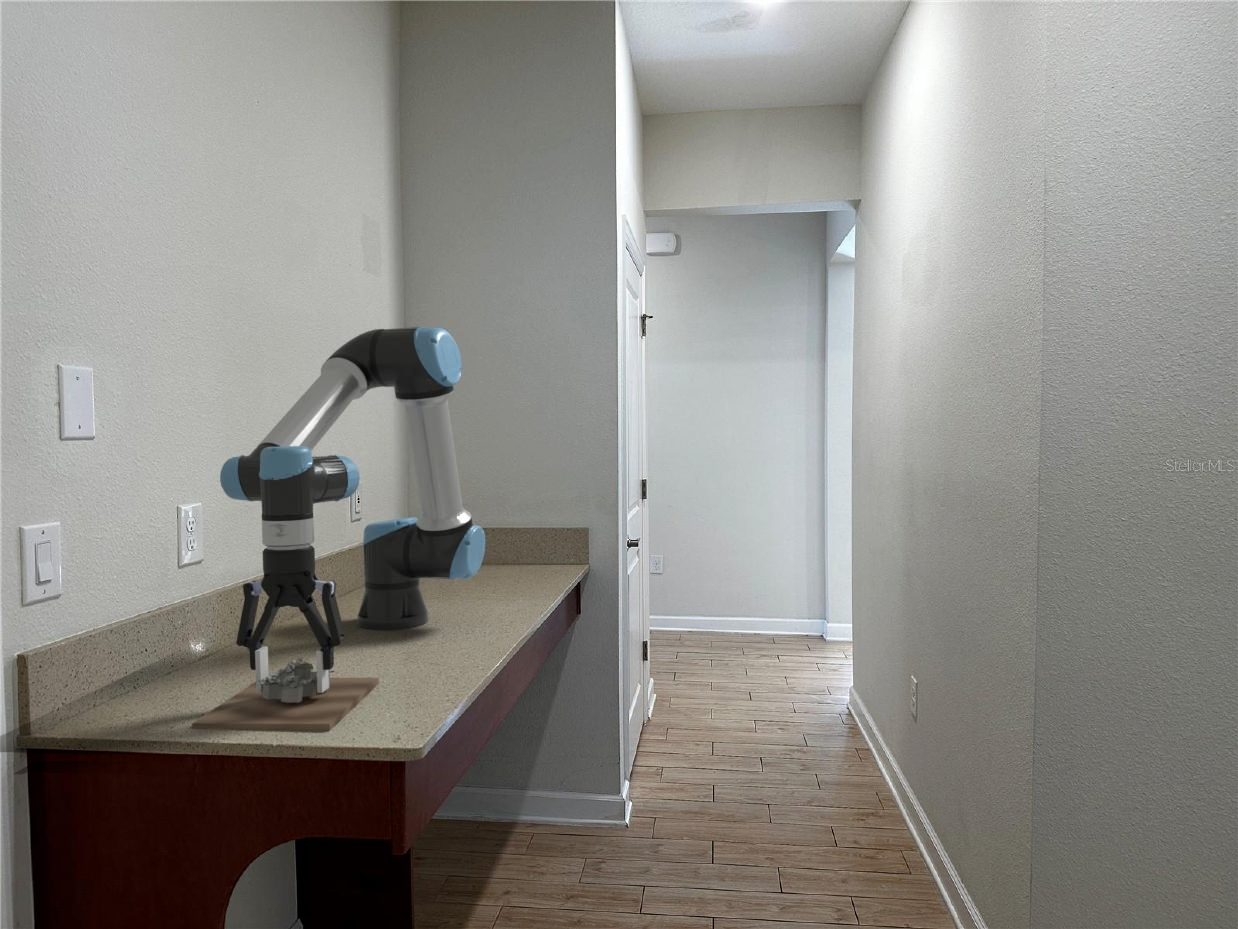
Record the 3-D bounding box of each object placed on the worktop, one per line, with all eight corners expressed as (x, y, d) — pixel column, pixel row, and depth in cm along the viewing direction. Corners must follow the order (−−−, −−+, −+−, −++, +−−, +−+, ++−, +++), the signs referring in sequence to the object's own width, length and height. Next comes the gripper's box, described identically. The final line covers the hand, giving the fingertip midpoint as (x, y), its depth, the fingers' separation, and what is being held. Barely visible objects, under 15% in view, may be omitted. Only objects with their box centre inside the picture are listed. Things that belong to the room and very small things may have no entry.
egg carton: (300, 680, 140) (302, 655, 140) (338, 688, 137) (340, 663, 137) (251, 697, 130) (253, 670, 130) (291, 706, 127) (293, 679, 127)
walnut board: (262, 684, 144) (261, 677, 144) (378, 684, 143) (378, 677, 143) (192, 731, 122) (192, 723, 122) (329, 732, 121) (329, 723, 121)
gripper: (207, 550, 128) (212, 697, 129) (349, 549, 127) (353, 698, 129) (231, 543, 136) (236, 682, 137) (365, 542, 135) (369, 682, 136)
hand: (292, 689), depth 133 cm, fingers closed on egg carton, 9 cm apart
